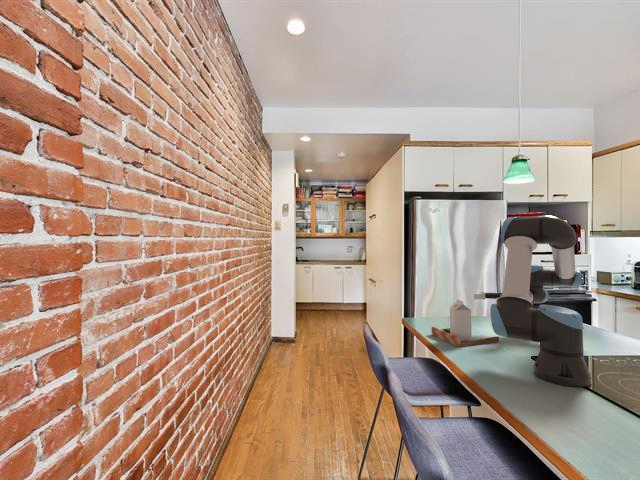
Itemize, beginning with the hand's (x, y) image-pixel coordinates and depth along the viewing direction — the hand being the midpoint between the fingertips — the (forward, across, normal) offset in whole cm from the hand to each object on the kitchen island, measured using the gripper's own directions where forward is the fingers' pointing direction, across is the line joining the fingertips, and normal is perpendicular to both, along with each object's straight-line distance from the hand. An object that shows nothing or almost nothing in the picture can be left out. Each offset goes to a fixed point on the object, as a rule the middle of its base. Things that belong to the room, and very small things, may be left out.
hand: (484, 298), depth 146 cm
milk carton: (+14, 0, -19) cm, 24 cm away
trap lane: (+10, +3, -19) cm, 21 cm away
